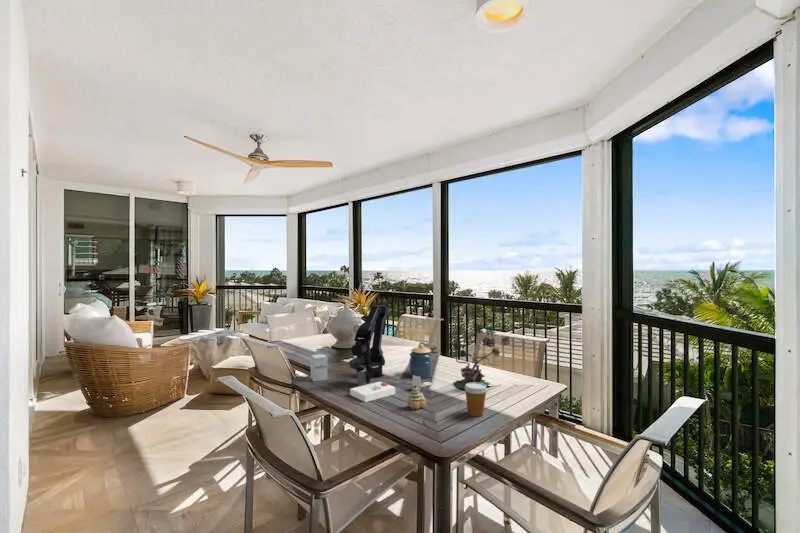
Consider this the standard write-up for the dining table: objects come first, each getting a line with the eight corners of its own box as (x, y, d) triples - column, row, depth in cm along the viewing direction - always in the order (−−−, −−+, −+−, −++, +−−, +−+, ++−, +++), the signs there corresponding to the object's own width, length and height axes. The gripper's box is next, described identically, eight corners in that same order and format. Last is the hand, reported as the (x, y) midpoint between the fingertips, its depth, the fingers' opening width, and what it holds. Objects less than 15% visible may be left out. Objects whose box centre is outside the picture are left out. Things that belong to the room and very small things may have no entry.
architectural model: (417, 388, 198) (417, 374, 198) (426, 392, 193) (427, 377, 192) (412, 390, 196) (412, 375, 196) (421, 393, 190) (422, 378, 190)
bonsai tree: (479, 400, 181) (481, 332, 180) (441, 387, 199) (442, 325, 199) (522, 386, 203) (523, 325, 203) (484, 375, 222) (485, 319, 222)
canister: (405, 377, 216) (406, 345, 216) (413, 371, 228) (414, 340, 228) (428, 380, 211) (428, 347, 211) (435, 373, 223) (435, 343, 223)
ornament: (419, 403, 176) (419, 381, 176) (428, 407, 172) (428, 384, 171) (405, 407, 171) (405, 384, 171) (414, 411, 167) (414, 388, 166)
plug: (365, 383, 204) (365, 369, 204) (370, 385, 201) (370, 371, 201) (357, 385, 200) (357, 371, 200) (362, 387, 198) (362, 372, 197)
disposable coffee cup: (461, 409, 169) (462, 382, 169) (483, 409, 170) (483, 381, 170) (467, 418, 160) (467, 389, 160) (489, 418, 161) (490, 389, 161)
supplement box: (313, 382, 204) (314, 358, 204) (310, 378, 211) (310, 354, 211) (327, 380, 208) (327, 356, 207) (323, 376, 214) (323, 353, 214)
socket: (379, 387, 197) (379, 379, 197) (395, 393, 188) (395, 385, 188) (350, 395, 185) (350, 387, 185) (365, 402, 176) (365, 393, 176)
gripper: (341, 350, 202) (340, 380, 202) (362, 357, 188) (362, 390, 188) (358, 347, 209) (358, 376, 210) (380, 354, 196) (380, 385, 196)
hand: (364, 382), depth 201 cm, fingers open, 6 cm apart
